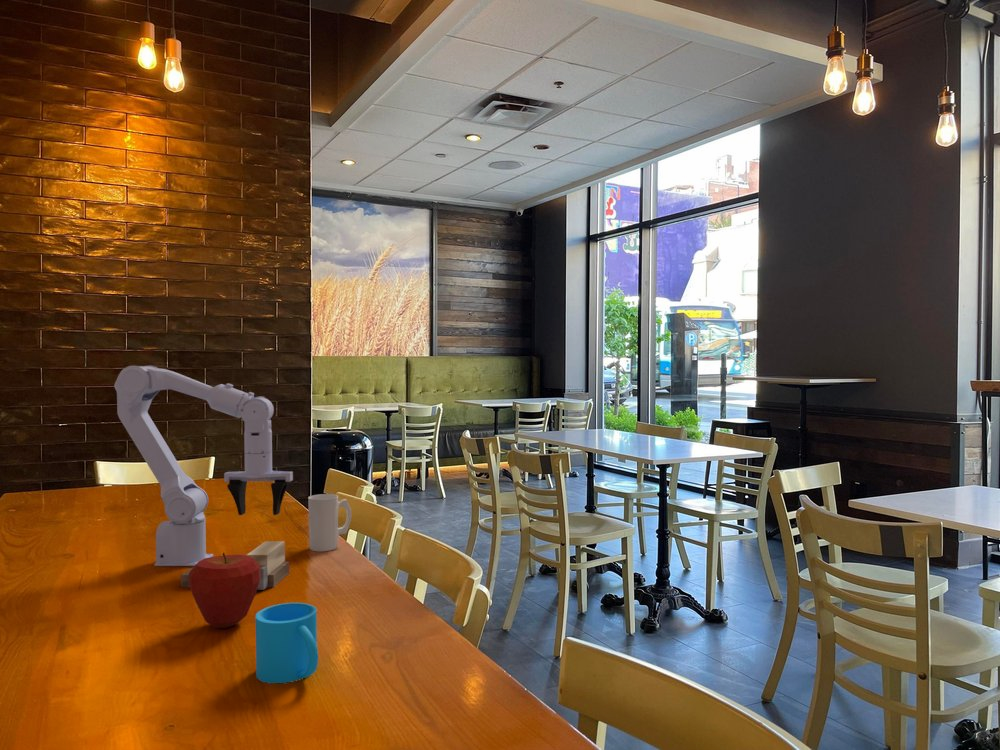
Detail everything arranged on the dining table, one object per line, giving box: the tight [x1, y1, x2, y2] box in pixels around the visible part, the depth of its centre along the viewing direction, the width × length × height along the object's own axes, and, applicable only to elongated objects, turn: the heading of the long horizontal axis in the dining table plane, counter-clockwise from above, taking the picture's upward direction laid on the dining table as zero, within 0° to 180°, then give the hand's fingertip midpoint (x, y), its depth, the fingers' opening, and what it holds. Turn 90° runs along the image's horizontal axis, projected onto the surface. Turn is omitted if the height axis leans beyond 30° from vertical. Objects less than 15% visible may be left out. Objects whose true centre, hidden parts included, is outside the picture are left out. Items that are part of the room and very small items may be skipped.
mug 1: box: [255, 602, 319, 684], centre depth 96 cm, size 12×8×8 cm
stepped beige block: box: [246, 540, 286, 591], centre depth 138 cm, size 4×12×6 cm, turn 178°
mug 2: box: [307, 493, 352, 553], centre depth 163 cm, size 10×7×12 cm, turn 120°
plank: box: [180, 561, 290, 588], centre depth 139 cm, size 18×9×2 cm, turn 88°
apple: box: [188, 552, 261, 629], centre depth 115 cm, size 11×11×12 cm
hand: (259, 514), depth 154 cm, fingers open, 7 cm apart
